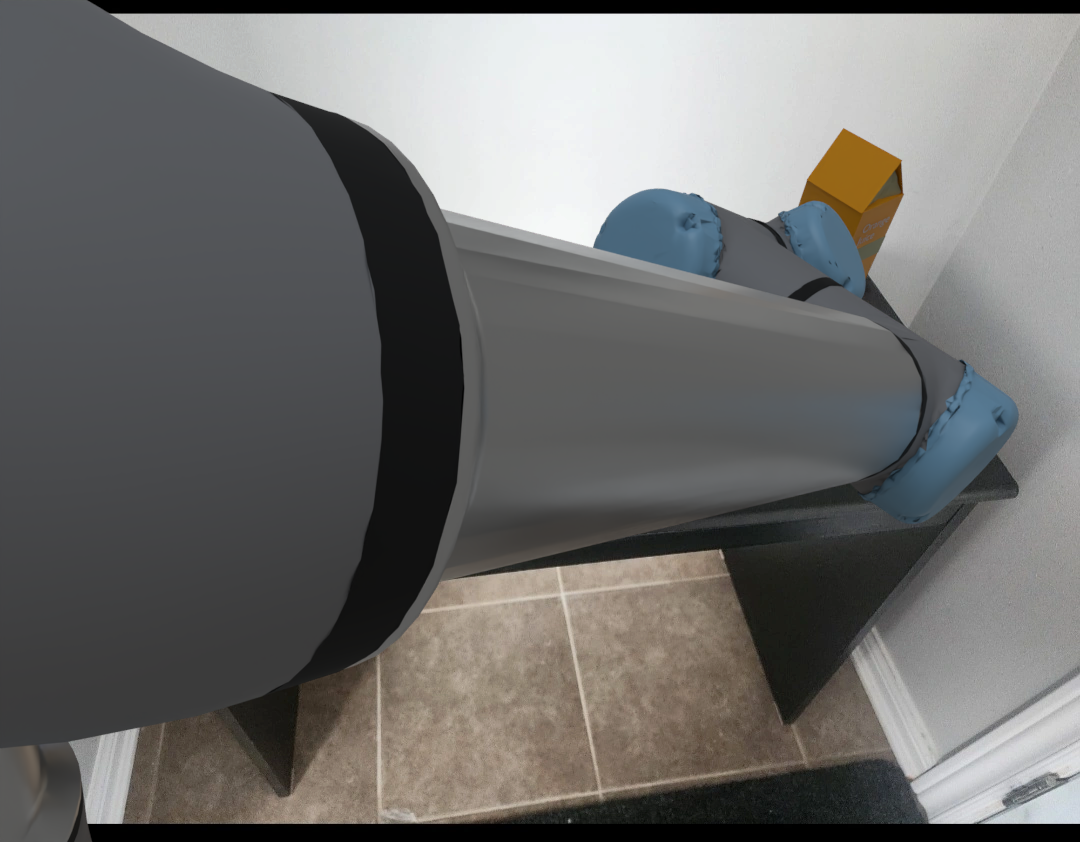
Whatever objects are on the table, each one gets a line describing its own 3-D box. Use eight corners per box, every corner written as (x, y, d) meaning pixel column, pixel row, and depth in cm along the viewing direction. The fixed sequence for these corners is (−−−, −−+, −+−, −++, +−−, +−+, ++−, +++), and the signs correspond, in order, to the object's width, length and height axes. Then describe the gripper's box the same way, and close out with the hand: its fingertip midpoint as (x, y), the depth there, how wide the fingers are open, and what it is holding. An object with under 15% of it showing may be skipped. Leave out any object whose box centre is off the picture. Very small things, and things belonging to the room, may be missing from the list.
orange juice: (813, 255, 105) (863, 119, 90) (862, 288, 101) (924, 151, 86) (774, 273, 102) (820, 136, 87) (823, 309, 98) (880, 170, 83)
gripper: (663, 451, 53) (456, 524, 68) (694, 305, 64) (509, 396, 79) (597, 385, 50) (395, 476, 65) (641, 242, 60) (459, 349, 76)
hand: (458, 432), depth 72 cm, fingers closed on lever, 4 cm apart
